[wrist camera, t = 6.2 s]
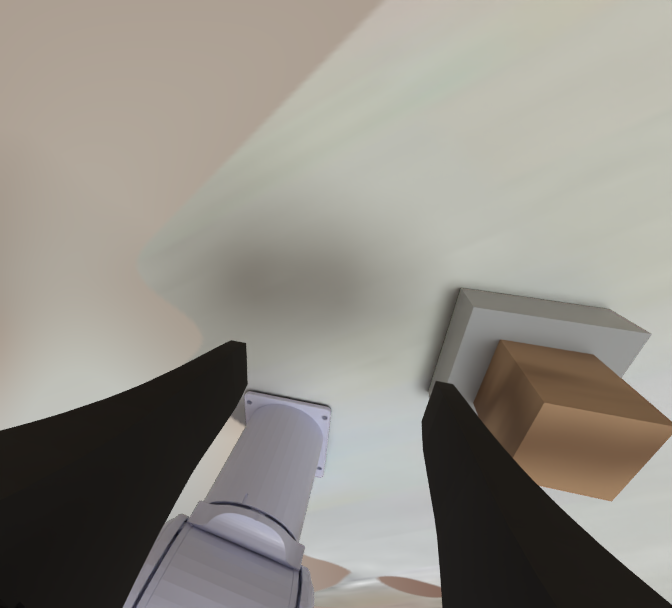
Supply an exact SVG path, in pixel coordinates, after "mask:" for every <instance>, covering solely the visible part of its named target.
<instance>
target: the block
mask: <svg viewBox="0 0 672 608" xmlns="http://www.w3.org/2000/svg"><path fill="white" fill-rule="evenodd" d="M473 404H474V407H475V409H476V412H477V415H478V417H479V418H480V419H481V421H482V422H483V423H484V424H485V426H486V427H487V428H488V429H489V431H490V432H491V433H492V434H493V436H494V437H495V438H496V439H497V440H498V442H499V443H500V444H501V445H502V446H503V447H504V449H505V450H506V451H507V452H508V453H509V454H510V455H511V457H512V458H513V459H514V460H515V461H516V462H517V463H518V464H519V466H520V467H521V468H522V469H523V470H524V471H525V472H526V473H527V474H528V475H529V476H530V477H531V478H532V480H533V481H534V482H535V483H536V484H537V485H538V486H543V487H548V488H552V489H557V490H561V491H566V492H571V493H575V494H580V495H585V496H589V497H594V498H598V499H603V500H608V501H612V500H613V499H614V498H615V497H616V496H617V495H618V494H619V493H620V492H621V491H622V489H623V488H624V487H625V486H626V485H627V484H628V483H629V482H630V481H631V479H632V478H633V477H634V476H635V475H636V474H637V473H638V472H639V471H640V470H641V468H642V467H643V466H644V465H645V464H646V463H647V462H648V461H649V460H650V458H651V457H652V456H653V455H654V454H655V453H656V452H657V451H658V450H659V449H660V447H661V446H662V445H663V444H664V443H665V442H666V441H667V440H668V439H669V438H670V436H671V435H672V421H670V420H669V419H668V418H667V417H666V416H665V415H663V414H662V413H661V412H660V411H659V410H658V409H656V408H655V407H654V406H653V405H652V404H651V403H649V402H648V401H647V400H646V399H645V398H644V397H642V396H641V395H640V394H639V393H638V392H637V391H635V390H634V389H633V388H632V387H631V386H630V385H629V384H627V383H626V382H625V381H624V380H623V379H622V378H620V377H619V376H618V375H617V374H616V373H615V372H613V371H612V370H611V369H610V368H609V367H608V366H606V365H605V364H604V363H603V362H602V361H601V360H599V359H598V358H597V357H596V356H595V355H594V354H587V353H581V352H575V351H569V350H563V349H557V348H551V347H545V346H539V345H533V344H526V343H520V342H514V341H508V340H502V339H500V341H499V343H498V345H497V348H496V350H495V352H494V355H493V357H492V360H491V362H490V364H489V367H488V369H487V371H486V374H485V376H484V379H483V381H482V383H481V386H480V388H479V390H478V393H477V395H476V397H475V400H474V402H473Z"/></svg>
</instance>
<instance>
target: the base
mask: <svg viewBox="0 0 672 608" xmlns="http://www.w3.org/2000/svg"><path fill="white" fill-rule="evenodd" d="M651 335H652V334H651V333H649V332H647V331H646V330H644V329H642V328H641V327H639V326H637V325H636V324H634V323H632V322H631V321H629V320H627V319H626V318H624V317H622V316H621V315H619V314H617V313H616V312H614V311H612V310H610V309H604V308H597V307H590V306H583V305H577V304H570V303H563V302H556V301H549V300H542V299H535V298H528V297H521V296H514V295H507V294H500V293H493V292H487V291H480V290H473V289H466V288H461V289H460V292H459V295H458V298H457V302H456V305H455V308H454V311H453V314H452V317H451V321H450V324H449V327H448V330H447V333H446V337H445V340H444V343H443V346H442V349H441V352H440V356H439V359H438V362H437V365H436V368H435V371H434V375H433V378H432V381H431V384H430V387H429V391H428V393H429V399H430V396H431V393H432V390H433V387H434V384H435V382H436V381H440V382H445V383H450V384H454V386H455V387H456V388H457V389H458V391H459V392H460V393H461V395H462V396H463V397H464V399H465V400H466V401H467V402H468V404H469V405H470V406H471V408H472V409H473V410H474V412H475V413H476V414H477V412H476V409H475V407H474V404H473V402H474V400H475V397H476V395H477V393H478V390H479V388H480V386H481V383H482V381H483V379H484V376H485V374H486V371H487V369H488V367H489V364H490V362H491V360H492V357H493V355H494V352H495V350H496V348H497V345H498V343H499V341H500V339H502V340H508V341H514V342H520V343H526V344H533V345H539V346H545V347H551V348H557V349H563V350H569V351H575V352H581V353H587V354H594V355H595V356H596V357H597V358H598V359H599V360H601V361H602V362H603V363H604V364H605V365H606V366H608V367H609V368H610V369H611V370H612V371H613V372H615V373H616V374H617V375H618V376H619V377H620V378H622V376H623V375H624V373H625V372H626V371H627V369H628V368H629V366H630V365H631V363H632V362H633V361H634V359H635V358H636V356H637V355H638V353H639V352H640V350H641V349H642V348H643V346H644V345H645V343H646V342H647V340H648V339H649V337H650V336H651ZM477 416H478V415H477Z"/></svg>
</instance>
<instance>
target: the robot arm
mask: <svg viewBox="0 0 672 608" xmlns="http://www.w3.org/2000/svg"><path fill="white" fill-rule="evenodd" d="M247 384H248V382H247V354H246V343H242V342H237V341H232V340H231V341H229V342H227V343H225V344H223V345H221V346H219V347H217V348H215V349H213V350H211V351H209V352H207V353H205V354H203V355H201V356H200V357H198V358H196V359H194V360H192V361H190V362H188V363H186V364H184V365H182V366H180V367H178V368H176V369H174V370H172V371H170V372H167V373H165V374H163V375H161V376H159V377H157V378H155V379H153V380H151V381H148V382H146V383H144V384H141V385H139V386H137V387H134V388H132V389H129V390H127V391H124V392H122V393H119V394H117V395H114V396H112V397H109V398H106V399H103V400H100V401H97V402H94V403H91V404H89V405H86V406H83V407H80V408H77V409H74V410H71V411H68V412H65V413H62V414H58V415H55V416H52V417H48V418H45V419H41V420H38V421H34V422H31V423H27V424H23V425H20V426H16V427H12V428H9V429H5V430H1V431H0V608H314V589H313V585H312V581H311V577H310V572H309V570H308V568H306V567H304V566H302V565H301V563H302V558H303V553H304V549H305V546H304V545H302V544H300V543H299V540H300V535H301V531H302V527H303V523H304V519H305V515H306V510H307V506H308V502H309V498H310V494H311V490H312V486H313V481H314V477H318V478H321V477H323V475H324V469H325V461H326V452H327V444H328V436H329V427H330V419H331V409H330V408H329V407H326V406H321V405H316V404H311V403H306V402H301V401H296V400H291V399H286V398H281V397H276V396H271V395H266V394H261V393H256V392H252V391H248V392H246V394H245V395H244V401H245V416H246V427H245V429H244V431H243V432H242V434H241V436H240V438H239V439H238V441H237V443H236V445H235V447H234V448H233V450H232V452H231V454H230V456H229V457H228V459H227V461H226V462H225V464H224V466H223V468H222V470H221V471H220V473H219V475H218V477H217V478H216V480H215V482H214V484H213V486H212V487H211V489H210V491H209V493H208V494H207V496H206V498H205V500H204V501H199V502H198V504H197V505H196V507H195V509H194V511H193V512H192V514H191V517H190V518H189V517H188V516H186V515H184V514H179V515H178V516H176V517H175V518H173V519H171V520H169V521H167V522H166V520H167V518H168V516H169V514H170V512H171V510H172V509H173V507H174V505H175V503H176V501H177V499H178V498H179V496H180V494H181V492H182V490H183V488H184V487H185V484H186V483H187V481H188V480H189V478H190V476H191V474H192V473H193V470H194V469H195V468H196V466H197V465H198V463H199V461H200V460H201V458H202V457H203V455H204V454H205V452H206V451H207V449H208V448H209V447H210V445H211V444H212V442H213V441H214V439H215V438H216V436H217V435H218V433H219V432H220V430H221V429H222V427H223V426H224V425H225V423H226V422H227V420H228V419H229V417H230V416H231V414H232V413H233V411H234V410H235V408H236V406H237V404H238V402H239V400H240V399H241V397H242V395H243V393H244V390H245V388H246V386H247ZM326 416H327V417H326ZM422 441H423V452H424V459H425V465H426V471H427V477H428V483H429V488H430V494H431V500H432V506H433V512H434V518H435V525H436V532H437V541H438V553H439V565H440V578H441V592H442V607H443V608H672V605H671V604H670V603H669V602H668V601H666V600H665V599H664V598H663V597H662V596H660V595H659V594H658V593H657V592H656V591H654V590H653V589H652V588H651V587H650V586H648V585H647V584H646V583H645V582H644V581H642V580H641V579H640V578H639V577H638V576H636V575H635V574H634V573H633V572H632V571H630V570H629V569H628V568H627V567H626V566H624V565H623V564H622V563H621V562H620V561H619V560H618V559H616V558H615V557H614V556H613V555H612V554H611V553H609V552H608V551H607V550H606V549H605V548H604V547H603V546H601V545H600V544H599V543H598V542H597V541H596V540H595V539H594V538H593V537H592V536H591V535H589V534H588V533H587V532H586V531H585V530H584V529H583V528H582V527H581V526H580V525H578V524H577V523H576V522H575V521H574V520H573V519H572V518H571V517H570V516H569V515H568V514H567V513H566V512H565V511H564V510H562V509H561V508H560V507H559V506H558V505H557V504H556V503H555V502H554V501H553V500H552V499H551V498H550V497H549V496H548V495H547V494H546V493H545V492H544V491H543V490H542V489H541V488H540V487H539V486H538V485H537V484H536V483H535V482H534V481H533V480H532V478H531V477H530V476H529V475H528V474H527V473H526V472H525V471H524V470H523V469H522V468H521V467H520V466H519V464H518V463H517V462H516V461H515V460H514V459H513V458H512V457H511V455H510V454H509V453H508V452H507V451H506V450H505V449H504V447H503V446H502V445H501V444H500V443H499V442H498V440H497V439H496V438H495V437H494V436H493V434H492V433H491V432H490V431H489V429H488V428H487V427H486V426H485V424H484V423H483V422H482V421H481V419H480V418H479V417H478V416H477V414H476V413H475V412H474V410H473V409H472V408H471V406H470V405H469V404H468V402H467V401H466V400H465V399H464V397H463V396H462V395H461V393H460V392H459V391H458V389H457V388H456V387H455V386H454V384H450V383H445V382H440V381H436V382H435V384H434V387H433V390H432V393H431V396H430V399H429V402H428V405H427V407H426V410H425V413H424V416H423V419H422ZM165 522H166V523H165Z"/></svg>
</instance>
